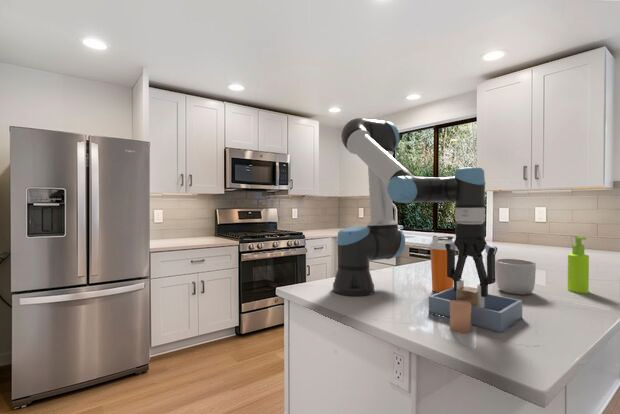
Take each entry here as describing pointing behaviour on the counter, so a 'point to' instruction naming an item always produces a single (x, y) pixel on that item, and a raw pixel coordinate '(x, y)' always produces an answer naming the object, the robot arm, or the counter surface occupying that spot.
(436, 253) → the shaker bottle
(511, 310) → the tote
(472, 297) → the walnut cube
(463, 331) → the peach capsule pill
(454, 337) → the counter surface
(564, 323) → the counter surface
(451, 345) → the counter surface
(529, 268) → the planter
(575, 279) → the soap dispenser
